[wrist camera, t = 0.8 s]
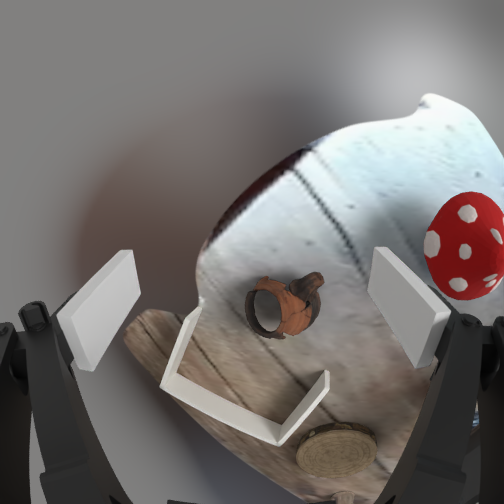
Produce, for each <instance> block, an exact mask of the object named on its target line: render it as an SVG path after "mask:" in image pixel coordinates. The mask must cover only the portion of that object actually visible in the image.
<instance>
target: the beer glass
mask: <svg viewBox="0 0 504 504" xmlns="http://www.w3.org/2000/svg"><path fill="white" fill-rule="evenodd" d="M354 499H355V494H354V493H353V492H349V491H343V492H338V493H335V494H334V495H332V496H331V501H332V500H336V504H354Z"/></svg>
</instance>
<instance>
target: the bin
mask: <svg viewBox="0 0 504 504" xmlns="http://www.w3.org/2000/svg"><path fill="white" fill-rule="evenodd" d="M201 311H202V308H201V307H199V306H198V307H197V308H196V309H195V310H194V311H192V312H191V313H190V314H189V315H188V316H187V317H186V318H185V320H184V323H183V325H182V328H181V330H180V333H179V336H178V338H177V341H176V343H175V346H174V349H173V351H172V354H171V357H170V359H169V362H168V365H167V367H166V370H165V373H164V376H163V378H162V381H161V384H160V388H161V389H163V390H164V391H166V392H168V393H169V394H171V395H173V396H175V397H176V398H178V399H180V400H181V401H183V402H185V403H187V404H189V405H190V406H192V407H194V408H196V409H198V410H200V411H201V412H203V413H205V414H207V415H209V416H211V417H213V418H215V419H217V420H219V421H221V422H223V423H225V424H227V425H229V426H231V427H234V428H236V429H238V430H240V431H242V432H245V433H247V434H249V435H251V436H254V437H256V438H258V439H261V440H263V441H266V442H268V443H270V444H273V445H275V446H278V447H280V446H281V445H282V444H283V443H284V442H285V441H286V440H287V439H288V438H289V436H290V435H291V434H292V433H293V432H294V431H295V430H296V429H297V428H298V427H299V425H300V424H301V423H302V422H303V421H304V420H305V419H306V417H307V416H308V415H309V414H310V413H311V412H312V410H313V409H314V408H315V407H316V406H317V404H318V403H319V402H320V401H321V400H322V398H323V397H324V396H325V395H326V393H327V392H328V391H329V390H330V388H329V371H327V370H324V372H323V373H322V375H321V376H320V377H319V379H318V380H317V381H316V383H315V384H314V385H313V387H312V388H311V389H310V391H309V392H308V393H307V394H306V396H305V397H304V398H303V400H302V401H301V402H300V403H299V405H298V406H297V407H296V408H295V410H294V411H293V412H292V413H291V414H290V416H289V417H288V418H287V419H286V421H285V422H284V423H283V424H282V425H280V424H278V423H276V422H273V421H271V420H269V419H266V418H264V417H262V416H259V415H257V414H255V413H253V412H251V411H248V410H246V409H244V408H242V407H240V406H238V405H236V404H234V403H232V402H230V401H228V400H226V399H224V398H222V397H220V396H218V395H216V394H214V393H212V392H210V391H208V390H206V389H205V388H203V387H201V386H199V385H197V384H195V383H194V382H192V381H190V380H188V379H187V378H185V377H183V376H181V375H180V374H178V373H176V372H177V369H178V367H179V364H180V362H181V359H182V357H183V355H184V352H185V350H186V347H187V345H188V342H189V340H190V338H191V335H192V333H193V330H194V328H195V325H196V323H197V321H198V318H199V316H200V313H201Z"/></svg>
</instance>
